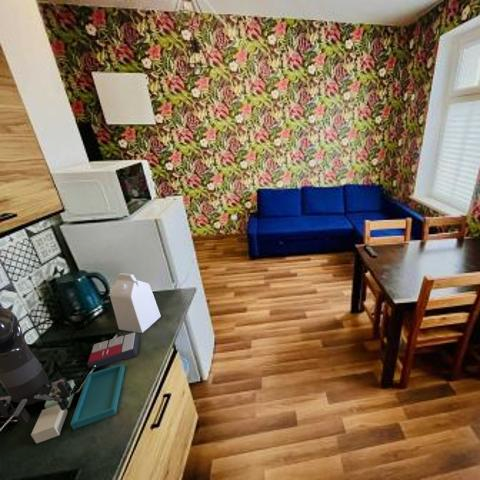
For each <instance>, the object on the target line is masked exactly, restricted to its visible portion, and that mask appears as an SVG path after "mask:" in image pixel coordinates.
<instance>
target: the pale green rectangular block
mask: <svg viewBox="0 0 480 480" xmlns="http://www.w3.org/2000/svg"><path fill="white" fill-rule="evenodd" d="M67 381H68V383H69V384H70V386H71V388H72V390H73V388H74V386H76V384H75V382H74V380H73V379H70V380H67ZM54 388H56V387H54ZM58 390H59V389H58ZM59 391H60V390H59ZM51 394H52V393H51V392H50V393H49V396H51ZM56 396H58V395H56ZM74 396H75V393H74V394H72V395H71V394H70V397H69V398H67V399H68V401H69V404H68V406H67V407H66V409H69V408H70V407H71V404H72V401H73V398H74ZM58 397H59V396H58ZM43 405H44V409H47V408H50V407H53V406H56V405H58V402H57V401H53V400H52V401H47V400H45V404H43Z"/></svg>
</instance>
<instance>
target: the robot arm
mask: <svg viewBox="0 0 480 480" xmlns="http://www.w3.org/2000/svg"><path fill="white" fill-rule="evenodd" d="M68 381H69V380H67V378H66V377H64V376H63V377H62V376H61V377H60V378H59V380H56V381H53V382H52V381H50V380H49V377H48V374H47V372H46V371H45V369H44V368H43V365H42V363H41V362H40V361H39V359H38V358H37V356H36V355H35V354H34V353H33V350H32V349H31V347H30V346H29V344H28V342H27V341H26V339H25V336H24V334H23V330H22V328H21V324H20V322H19V319H18V317H17V315H16V314H15V313H14V312H13V310H10V309H8V308H6V307H1V306H0V384H1V386H2V387H3V389H4V390H5V392H6V394H2V395H1V396H0V414H1V416H2V418H3V419H8V418H9V417H12V416H13V418H14V417H15V418H16V419H17V421H18V422H19V423H22V424H23V425H24V424H27V423H28V422H29V420H30V418H31V417H30V416H31V415H30V414H29V412H28V411H27V409H26V408H24V407H25V406H27V405H28V406H31V405H34V404H36V403H39V402H43V401H52V400H53V401H57V402H58V405H59V406H60V408H61V410H62V411H63V410H66V409H67V408H66V407H67V406H68V404H69V401H68V399H67V398H69V397H70V394H71V392H72V388H71V386H70V384H69V383H68ZM54 387H56V388H54ZM58 389H59V390H60V391H59V390H58ZM50 392H51V393H52V394H51V396H49V395H50ZM7 394H8V395H7ZM56 395H58V396H59V397H58V396H56ZM12 402H13V403H18V405H17V407H14V406H13V404H12Z"/></svg>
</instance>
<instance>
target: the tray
mask: <svg viewBox="0 0 480 480" xmlns="http://www.w3.org/2000/svg"><path fill="white" fill-rule="evenodd" d="M125 370H126V367H125V365H124V363H121V364H116V365H113V366H111V367H106V368H103V369H101V370H96V371H93V372H90V373H87V376H86V378H85V380H84V384H83V386H82V388H81V389H82V390H81V393H80V396H79V397H78V401H77V404H76V407H75V409H74V412H73V416H72V418H71V421H70V427H71V428H72V430H76V429H79V428H83V427H84V426H87V425H90V424H92V423H93V424H94V423H95V422H98V421H101V420H104V419H106V418H109V417H113V416H114V415H117V411H118V406H119V400H120V395H121V390H122V385H123V380H124V375H125Z"/></svg>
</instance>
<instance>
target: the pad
mask: <svg viewBox="0 0 480 480" xmlns="http://www.w3.org/2000/svg"><path fill="white" fill-rule="evenodd" d="M68 412H69V411H68V408H66V410H63V411H62V410H61V408H60V406H59V405H56V406H53V407H50V408H47V409H46V408H44V409H42V410H41V412H40V413H39V416H38V418H37V420H36V422H35V425H34V427H33V429H32V431H31V433H30V436H31V438H32V439H33V441H34V442H35V443H36V444H39V443H42V442H44V441H47V440H50V439H53V438H56V437H58V436H60V435H61V431H62V428H63V425H64V423H65V420H66V418H67V415H68Z"/></svg>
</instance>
